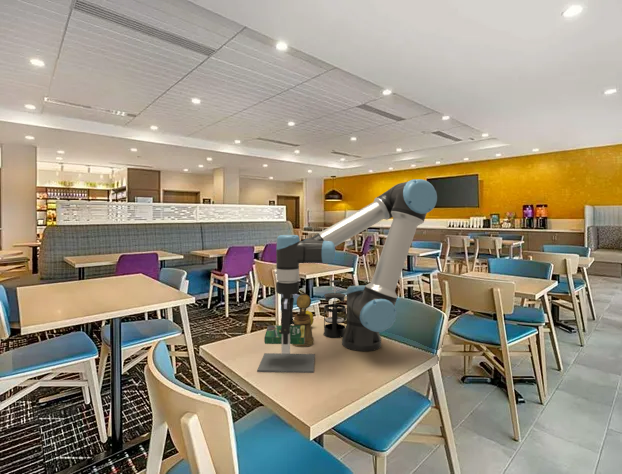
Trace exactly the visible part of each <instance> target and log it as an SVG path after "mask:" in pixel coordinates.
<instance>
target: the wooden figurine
mask: <svg viewBox="0 0 622 474" xmlns="http://www.w3.org/2000/svg"><path fill="white" fill-rule="evenodd" d="M311 299H312V298H311V297H310V295H308V294H307V293H304V292H303V293H301V294H300V295H299V296H298V297H296V303H295V304H296V306H297V308H298V309H299V313H296V314H294V317H293V321H294V324H293V326H299V325H300V326H302V325H304V326H305V343H304V344H291V345H292V346H295V347H299V348H300V347H302V348H304V347H305V348H306V347H309V346H313V345H314V344H315V343H314V340H315V339H314V337H313V330H312V325H311V318H310V315H309V314H306V311H307V310H308V309H309V307H310V306H311V305H312V300H311Z"/></svg>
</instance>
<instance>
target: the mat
mask: <svg viewBox="0 0 622 474" xmlns="http://www.w3.org/2000/svg"><path fill="white" fill-rule="evenodd" d="M315 356H316V355H315V353H290V354H283V353H281V352H280V353H276V352H274V353H272V352H270V353H269V352H264V353H263V356H262V358H261V361H260V363H259V365H258V367H257V371H256V372H257V373H298V374H299V373H303V374H305V373H308V374H309V373H311V374H314V373H315Z"/></svg>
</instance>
